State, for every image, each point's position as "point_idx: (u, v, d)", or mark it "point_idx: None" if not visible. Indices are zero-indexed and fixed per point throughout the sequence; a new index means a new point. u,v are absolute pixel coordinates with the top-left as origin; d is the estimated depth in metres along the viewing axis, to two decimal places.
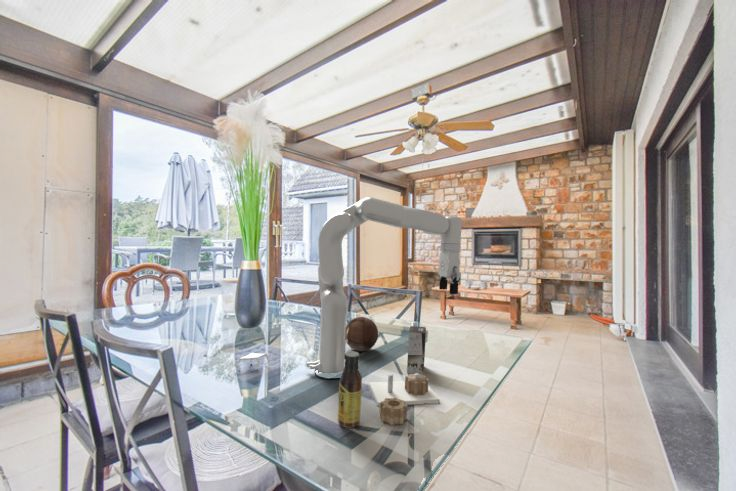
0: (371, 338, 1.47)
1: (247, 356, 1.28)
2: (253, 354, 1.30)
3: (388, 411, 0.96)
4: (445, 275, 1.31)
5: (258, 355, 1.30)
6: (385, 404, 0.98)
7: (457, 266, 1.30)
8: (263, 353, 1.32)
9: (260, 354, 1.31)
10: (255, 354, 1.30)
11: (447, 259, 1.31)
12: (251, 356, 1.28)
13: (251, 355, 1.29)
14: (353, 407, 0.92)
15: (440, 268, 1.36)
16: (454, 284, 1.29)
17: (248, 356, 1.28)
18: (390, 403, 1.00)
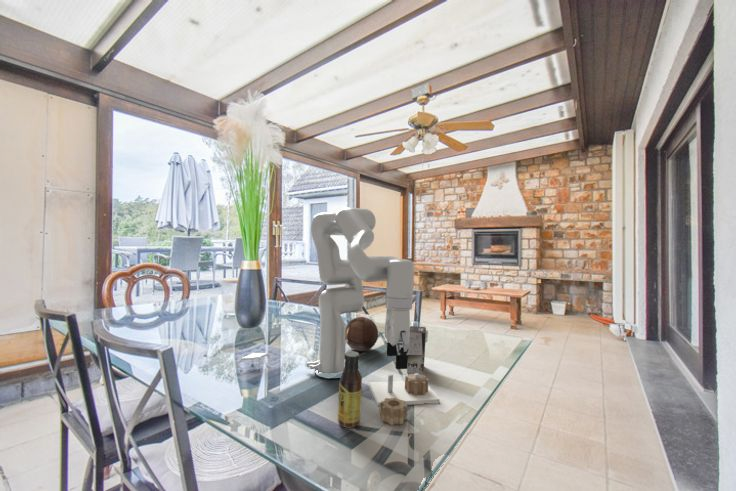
0: (371, 338, 1.47)
1: (249, 356, 1.28)
2: (254, 354, 1.31)
3: (388, 411, 0.96)
4: (390, 342, 0.94)
5: (260, 355, 1.30)
6: (385, 404, 0.98)
7: (406, 330, 0.93)
8: (264, 353, 1.32)
9: (261, 354, 1.31)
10: (256, 354, 1.30)
11: (392, 320, 0.94)
12: (253, 356, 1.29)
13: (253, 355, 1.30)
14: (353, 407, 0.92)
15: (386, 329, 0.99)
16: (401, 356, 0.92)
17: (250, 356, 1.28)
18: (390, 403, 1.00)
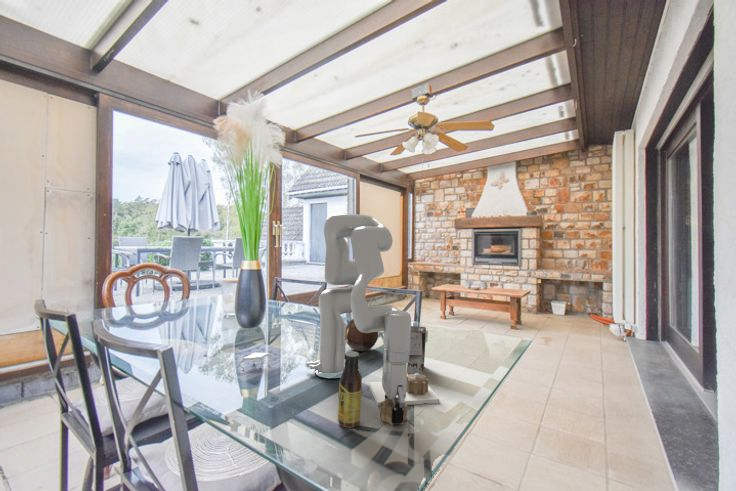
0: (371, 338, 1.47)
1: (250, 356, 1.29)
2: (256, 354, 1.31)
3: (388, 411, 0.96)
4: (387, 395, 0.95)
5: (261, 354, 1.30)
6: (385, 404, 0.98)
7: (403, 385, 0.93)
8: None
9: (263, 353, 1.31)
10: (258, 354, 1.31)
11: (389, 374, 0.94)
12: (254, 356, 1.29)
13: (254, 355, 1.30)
14: (353, 407, 0.92)
15: (383, 380, 1.00)
16: (397, 411, 0.93)
17: (251, 356, 1.29)
18: (390, 403, 1.00)
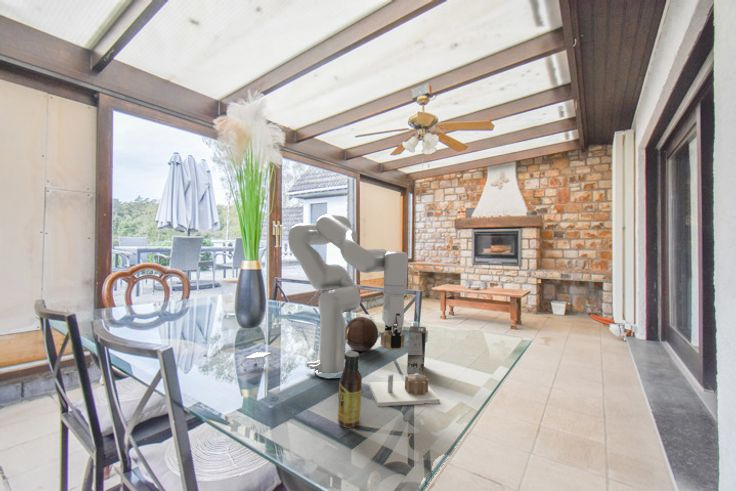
0: (371, 338, 1.47)
1: (252, 355, 1.29)
2: (258, 353, 1.31)
3: (388, 338, 1.09)
4: (387, 324, 1.08)
5: (263, 354, 1.31)
6: (385, 333, 1.11)
7: (401, 313, 1.06)
8: None
9: (265, 353, 1.32)
10: (260, 354, 1.31)
11: (389, 304, 1.07)
12: (256, 355, 1.29)
13: (256, 354, 1.30)
14: (353, 407, 0.92)
15: (383, 313, 1.13)
16: (396, 337, 1.06)
17: (253, 355, 1.29)
18: (389, 334, 1.13)
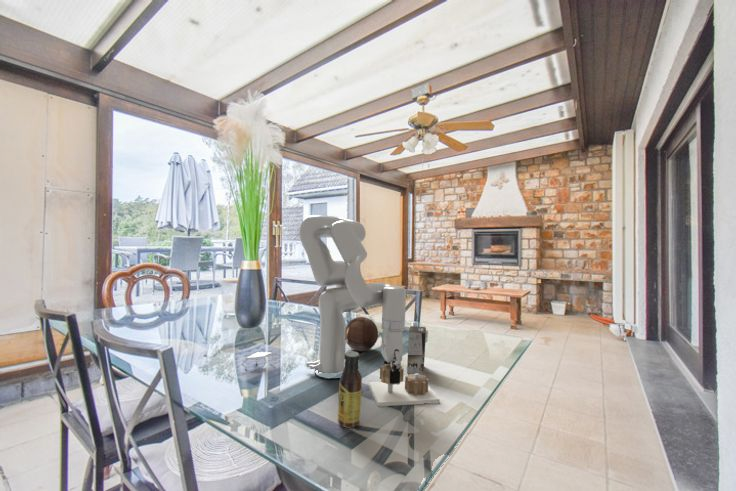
0: (371, 338, 1.47)
1: (253, 355, 1.29)
2: (259, 353, 1.32)
3: (387, 373, 1.09)
4: (386, 359, 1.08)
5: (264, 354, 1.31)
6: (384, 367, 1.11)
7: (399, 349, 1.07)
8: (269, 352, 1.33)
9: (266, 353, 1.32)
10: (261, 353, 1.31)
11: (387, 340, 1.08)
12: (257, 355, 1.29)
13: (257, 354, 1.30)
14: (353, 407, 0.92)
15: (382, 347, 1.13)
16: (394, 372, 1.07)
17: (254, 355, 1.29)
18: (388, 367, 1.13)
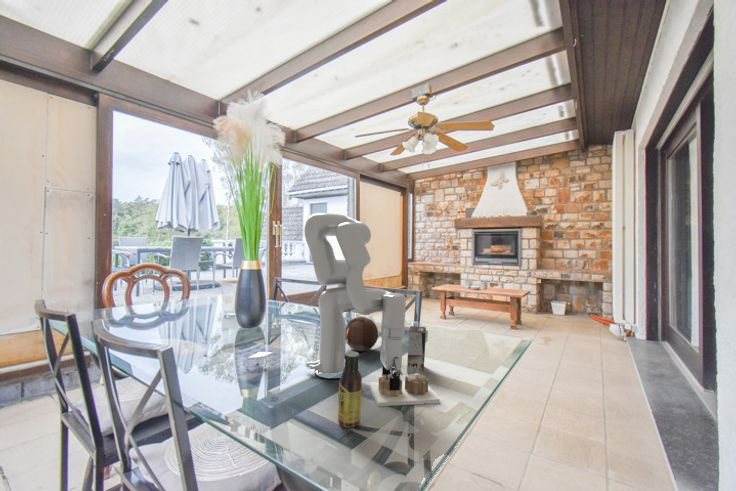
0: (371, 338, 1.47)
1: (255, 355, 1.29)
2: (260, 353, 1.32)
3: (385, 385, 1.10)
4: (385, 366, 1.09)
5: (265, 354, 1.31)
6: (383, 379, 1.11)
7: (398, 357, 1.07)
8: (270, 352, 1.34)
9: (267, 353, 1.32)
10: (262, 353, 1.32)
11: (387, 347, 1.08)
12: (259, 355, 1.30)
13: (258, 354, 1.31)
14: (353, 407, 0.92)
15: (381, 354, 1.13)
16: (394, 379, 1.06)
17: (256, 355, 1.30)
18: (387, 379, 1.14)
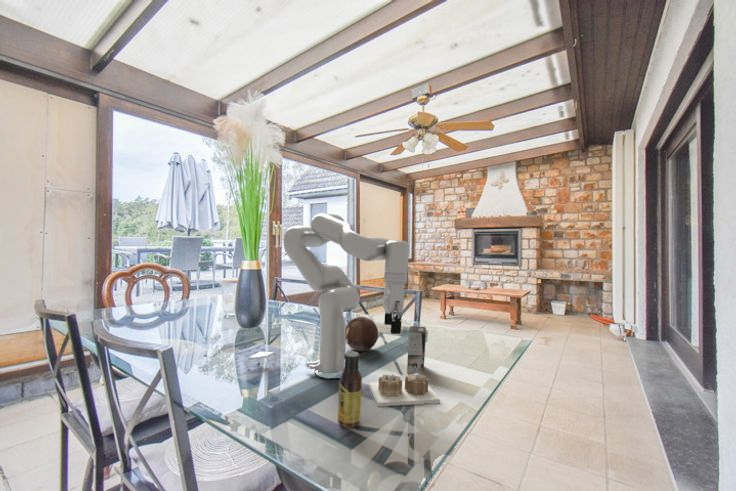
0: (371, 338, 1.47)
1: (256, 355, 1.30)
2: (261, 353, 1.32)
3: (385, 385, 1.10)
4: (387, 311, 1.10)
5: (267, 353, 1.31)
6: (383, 379, 1.11)
7: (400, 301, 1.08)
8: None
9: (268, 352, 1.33)
10: (263, 353, 1.32)
11: (389, 292, 1.09)
12: (260, 355, 1.30)
13: (260, 354, 1.31)
14: (353, 407, 0.92)
15: (384, 301, 1.15)
16: (396, 322, 1.08)
17: (257, 355, 1.30)
18: (387, 379, 1.14)
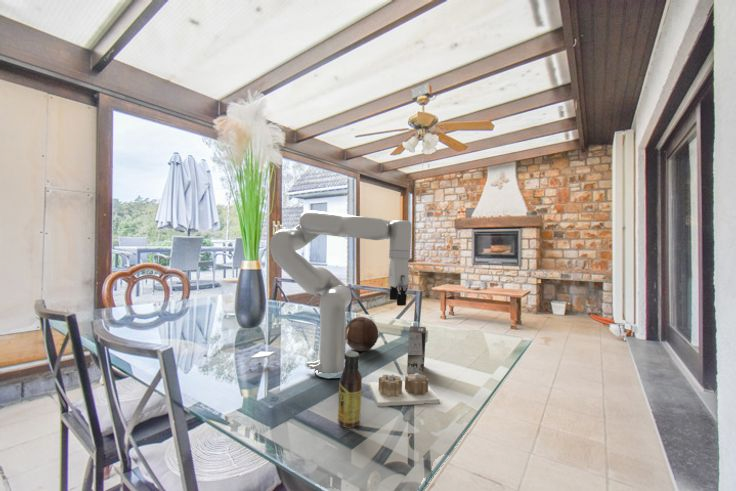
0: (371, 338, 1.47)
1: (257, 355, 1.30)
2: (262, 353, 1.32)
3: (385, 385, 1.10)
4: (392, 285, 1.20)
5: (268, 353, 1.32)
6: (383, 379, 1.11)
7: (405, 275, 1.18)
8: None
9: (269, 352, 1.33)
10: (264, 353, 1.32)
11: (394, 267, 1.19)
12: (261, 354, 1.30)
13: (261, 354, 1.31)
14: (353, 407, 0.92)
15: (389, 277, 1.25)
16: (401, 295, 1.17)
17: (258, 355, 1.30)
18: (387, 379, 1.14)
